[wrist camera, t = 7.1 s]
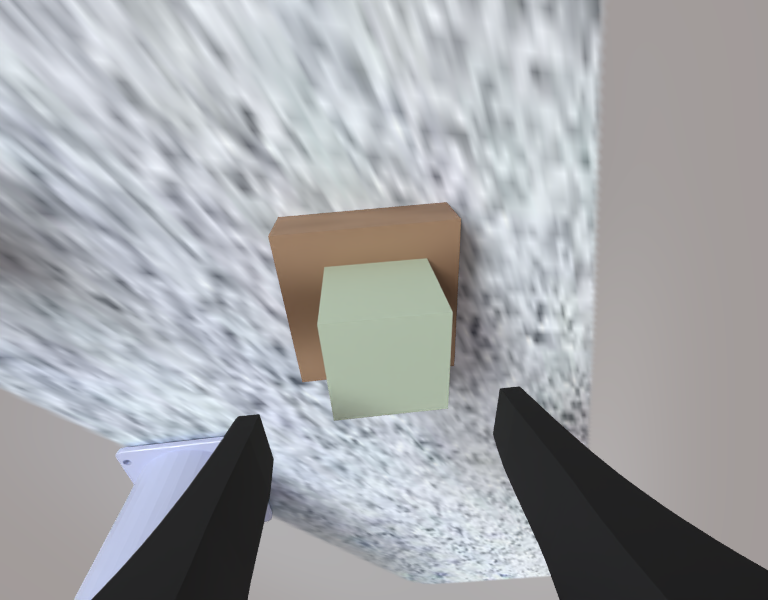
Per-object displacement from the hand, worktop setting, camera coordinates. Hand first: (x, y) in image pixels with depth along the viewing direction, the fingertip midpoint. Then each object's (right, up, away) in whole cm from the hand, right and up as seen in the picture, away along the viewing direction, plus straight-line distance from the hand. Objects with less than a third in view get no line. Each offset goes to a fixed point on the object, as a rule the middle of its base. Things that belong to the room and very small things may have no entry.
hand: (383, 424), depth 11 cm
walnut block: (-1, +5, +9) cm, 10 cm away
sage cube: (0, +3, +6) cm, 7 cm away
